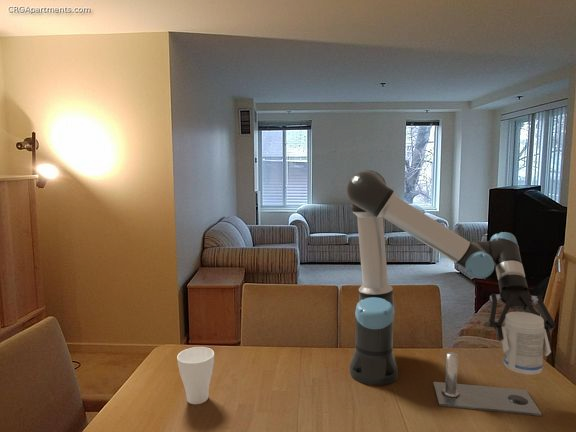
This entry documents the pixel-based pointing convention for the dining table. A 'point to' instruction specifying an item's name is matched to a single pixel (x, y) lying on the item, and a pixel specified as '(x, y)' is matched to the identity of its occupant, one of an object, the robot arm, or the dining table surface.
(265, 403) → the dining table surface
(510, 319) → the supplement tub
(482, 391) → the grey flat rectangular plate
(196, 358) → the cup
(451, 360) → the steel pin
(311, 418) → the dining table surface
